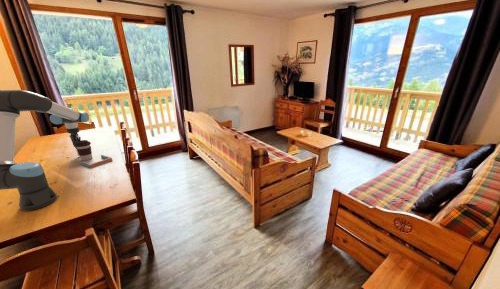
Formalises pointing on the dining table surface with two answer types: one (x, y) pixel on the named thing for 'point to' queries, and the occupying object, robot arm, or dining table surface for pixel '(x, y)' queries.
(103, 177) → the dining table surface
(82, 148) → the coffee cup
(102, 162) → the keeper tray
